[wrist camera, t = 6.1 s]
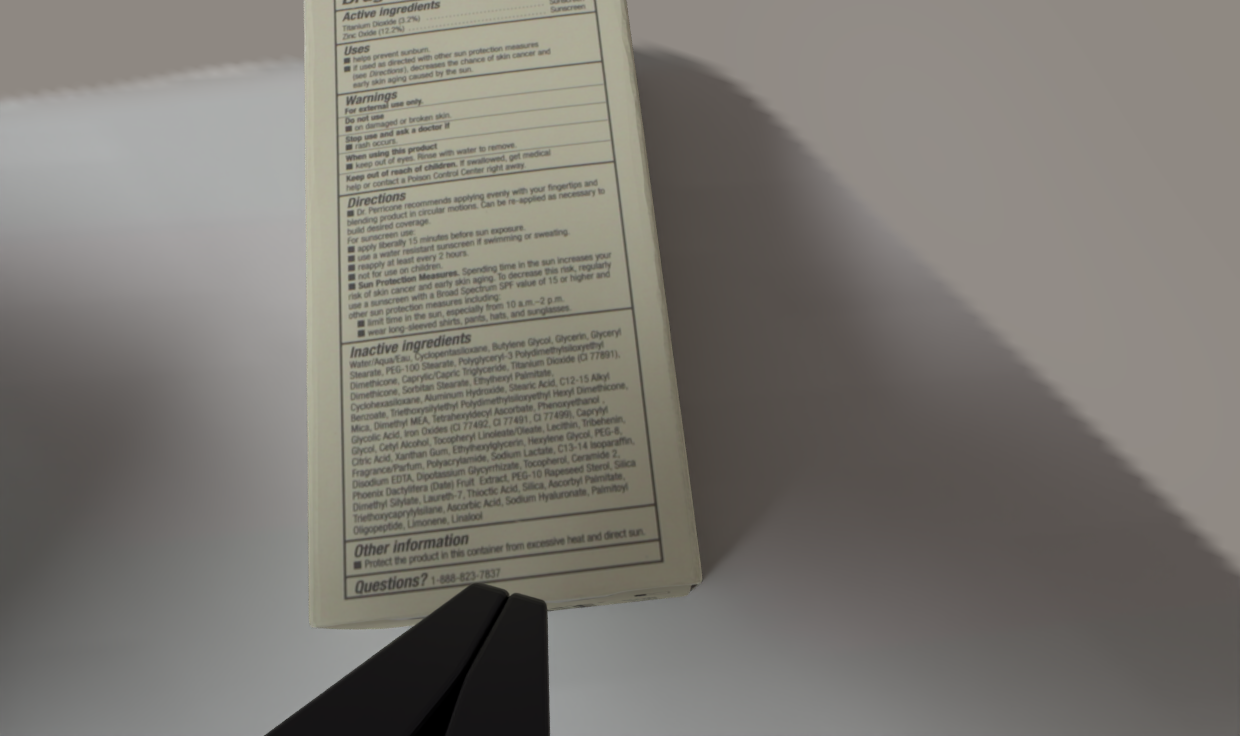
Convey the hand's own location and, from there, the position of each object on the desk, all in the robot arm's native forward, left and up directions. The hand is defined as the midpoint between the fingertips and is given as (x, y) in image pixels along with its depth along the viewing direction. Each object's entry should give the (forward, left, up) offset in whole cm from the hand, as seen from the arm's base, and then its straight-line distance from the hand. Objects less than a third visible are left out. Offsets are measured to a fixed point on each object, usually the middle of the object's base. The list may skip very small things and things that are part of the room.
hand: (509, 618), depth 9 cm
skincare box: (0, +1, -5) cm, 5 cm away
